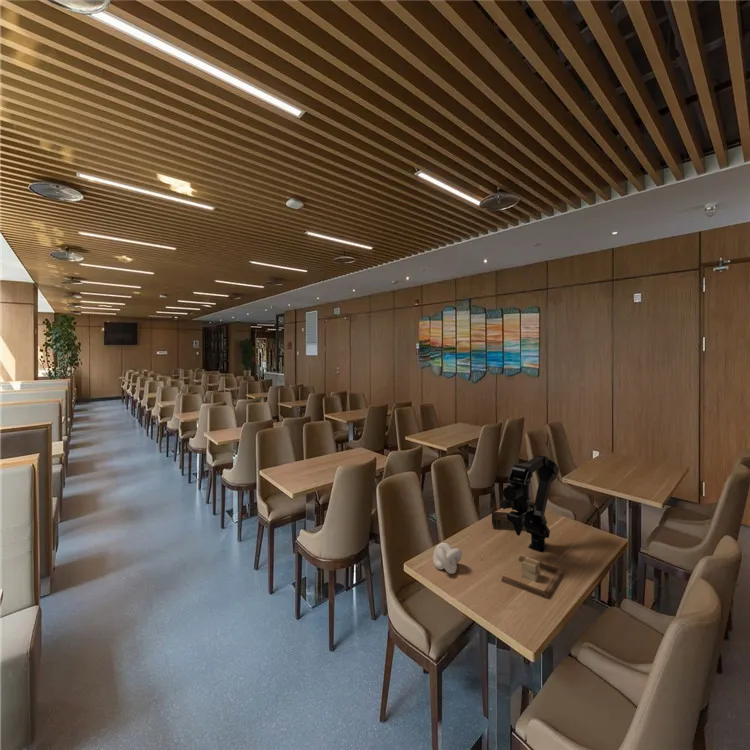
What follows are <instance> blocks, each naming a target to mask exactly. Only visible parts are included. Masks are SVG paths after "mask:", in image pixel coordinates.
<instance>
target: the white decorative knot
mask: <svg viewBox="0 0 750 750" xmlns="http://www.w3.org/2000/svg"><path fill="white" fill-rule="evenodd" d="M462 557H463V552H462V550H461V549H460V548H457V547H455V548H453V547H452V546H451V545H450V544H449V543H447V542H441V543H439V544H438V545H437V546H435V548H434V550H433V554H432V561H433V565H434V566H435V568H436V569H437V570H445V571H446V572H447V573H448V574H450V575H454V574H455V573H456V572H457V568H458V567H457V564H458V563H459V562H460V561H461V559H462Z"/></svg>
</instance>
